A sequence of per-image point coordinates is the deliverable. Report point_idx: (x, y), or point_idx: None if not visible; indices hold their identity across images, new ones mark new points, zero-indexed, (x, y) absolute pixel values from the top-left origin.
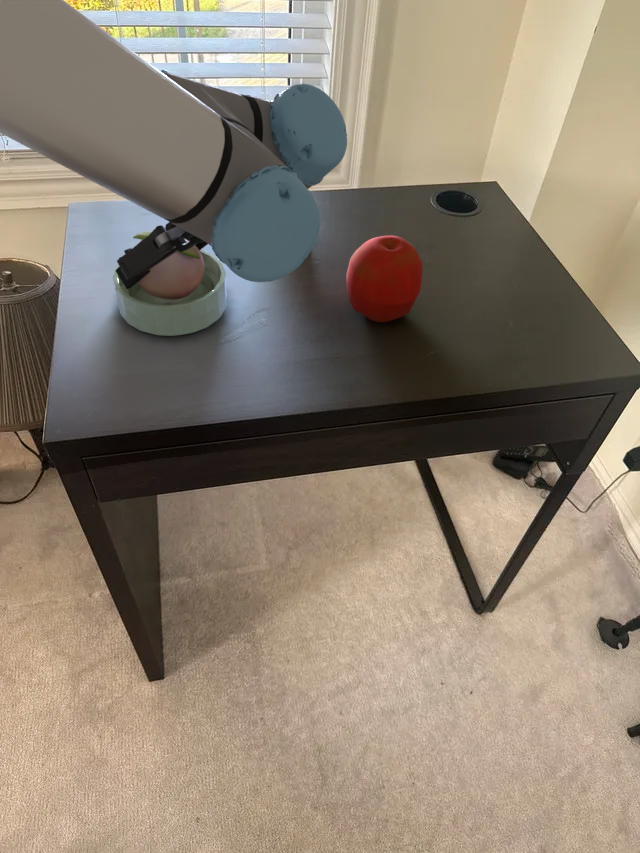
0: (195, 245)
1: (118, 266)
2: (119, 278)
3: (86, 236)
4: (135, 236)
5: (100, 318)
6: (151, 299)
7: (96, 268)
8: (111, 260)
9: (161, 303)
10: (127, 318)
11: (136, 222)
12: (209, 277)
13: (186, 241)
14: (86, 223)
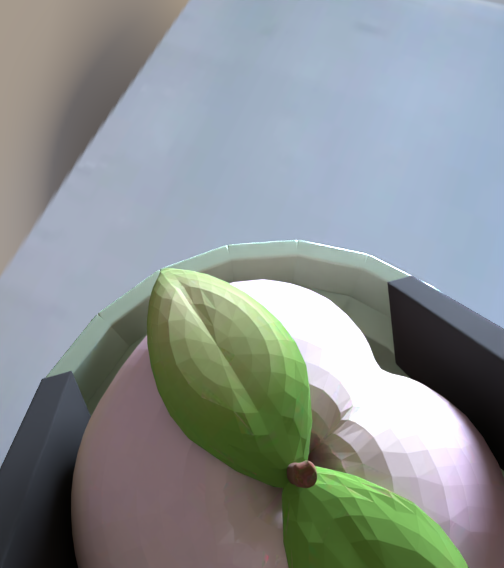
0: (499, 441)
1: (105, 315)
2: (87, 372)
3: (186, 57)
4: (153, 297)
5: None
6: None
7: (143, 186)
8: (198, 169)
9: None
10: None
11: (331, 49)
12: None
13: (466, 527)
14: (211, 15)
